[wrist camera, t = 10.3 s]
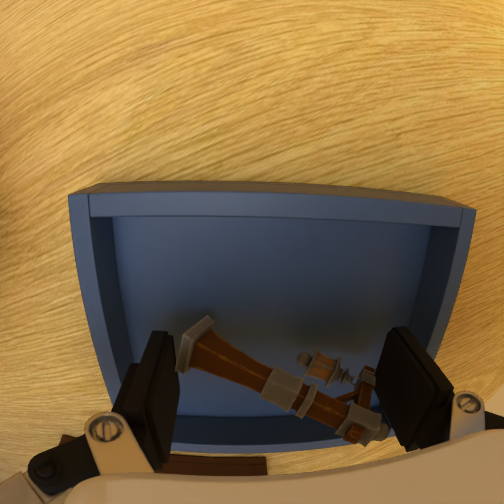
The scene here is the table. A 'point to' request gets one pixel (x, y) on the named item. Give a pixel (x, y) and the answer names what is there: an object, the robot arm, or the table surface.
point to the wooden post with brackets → (288, 383)
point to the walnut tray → (209, 465)
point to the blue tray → (263, 288)
